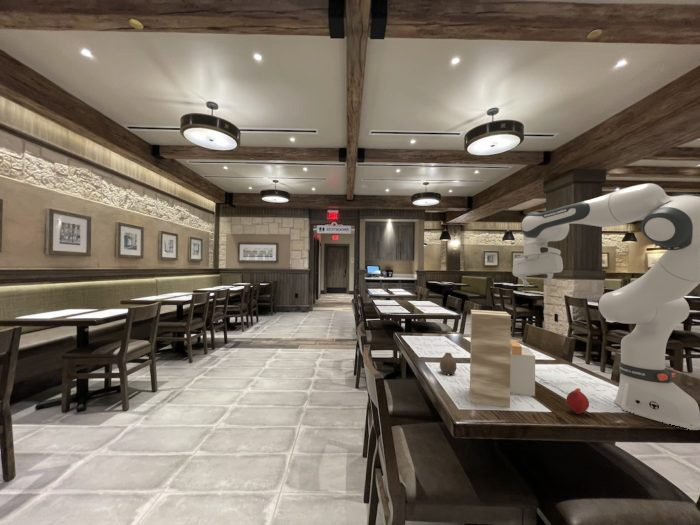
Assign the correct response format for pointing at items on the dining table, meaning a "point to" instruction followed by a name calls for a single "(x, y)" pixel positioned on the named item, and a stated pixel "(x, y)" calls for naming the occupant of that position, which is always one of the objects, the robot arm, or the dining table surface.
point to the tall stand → (490, 357)
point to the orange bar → (515, 347)
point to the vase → (448, 364)
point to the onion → (577, 401)
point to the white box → (522, 373)
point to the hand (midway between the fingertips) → (536, 285)
